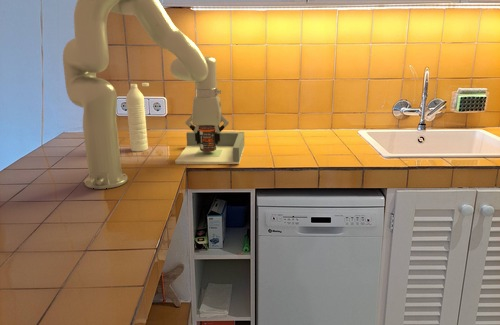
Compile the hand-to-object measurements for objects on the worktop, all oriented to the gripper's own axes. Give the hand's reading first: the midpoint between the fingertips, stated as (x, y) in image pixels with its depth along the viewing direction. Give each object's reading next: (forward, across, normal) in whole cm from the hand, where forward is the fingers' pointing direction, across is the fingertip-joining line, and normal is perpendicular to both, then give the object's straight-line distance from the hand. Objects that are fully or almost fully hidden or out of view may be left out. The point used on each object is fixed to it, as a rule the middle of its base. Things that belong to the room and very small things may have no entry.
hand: (207, 142), depth 162 cm
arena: (+5, -1, -1) cm, 5 cm away
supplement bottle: (+3, 0, 0) cm, 3 cm away
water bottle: (+5, +27, -8) cm, 29 cm away
